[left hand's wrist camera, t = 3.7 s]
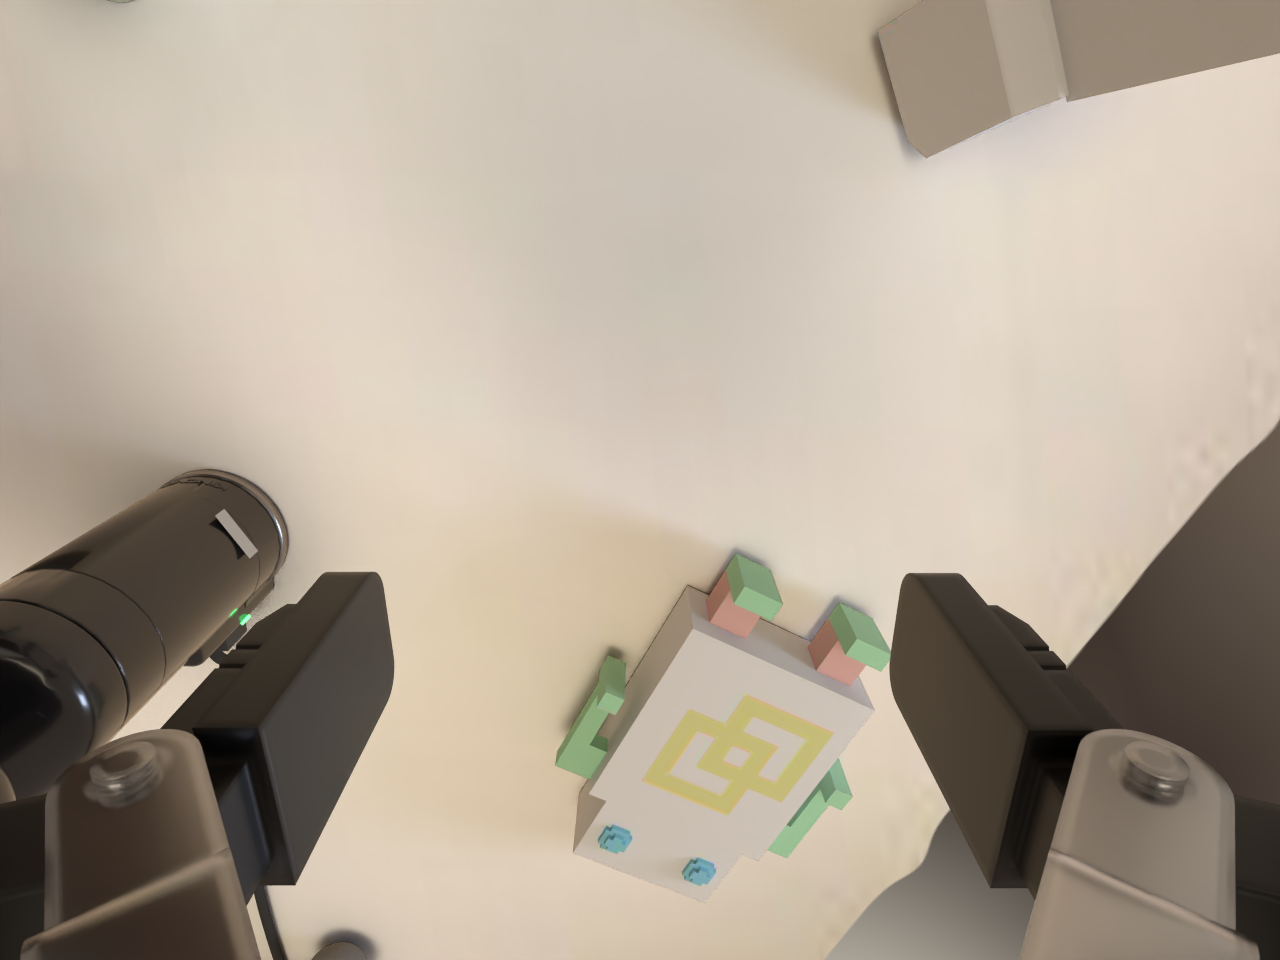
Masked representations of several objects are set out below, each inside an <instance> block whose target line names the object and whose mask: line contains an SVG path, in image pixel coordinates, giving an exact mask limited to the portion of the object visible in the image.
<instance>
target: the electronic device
mask: <svg viewBox="0 0 1280 960" xmlns="http://www.w3.org/2000/svg"><path fill="white" fill-rule="evenodd" d="M877 33H878V36H879V40H880V44H881V47H882V51H883V54H884V58H885V61H886V65H887V69H888V72H889V76H890V79H891V83H892V86H893V90H894V94H895V97H896V101H897V104H898V108H899V111H900V115H901V119H902V122H903V126H904V129H905V133H906V136H907V140H908V143H909V144H910V145H912V146H913V147H914V148H915V149H916V150H917V151H919V152H920V153H921V154H922V155H923V156H925V157H926V158H928V157H930V156H933V155H935V154H937V153H939V152H942V151H944V150H946V149H948V148H951V147H953V146H955V145H957V144H960V143H962V142H964V141H966V140H969V139H971V138H973V137H975V136H978V135H980V134H982V133H984V132H987V131H989V130H991V129H994V128H996V127H998V126H1000V125H1003V124H1005V123H1007V122H1009V121H1012V120H1014V119H1016V118H1018V117H1021V116H1023V115H1025V114H1027V113H1030V112H1032V111H1034V110H1037V109H1039V108H1041V107H1043V106H1046V105H1048V104H1050V103H1052V102H1055V101H1057V100H1059V99H1061V98H1063V97H1065V96H1066V99H1067V102H1069V101H1074V100H1078V99H1082V98H1087V97H1091V96H1095V95H1100V94H1104V93H1109V92H1113V91H1117V90H1122V89H1126V88H1130V87H1135V86H1139V85H1143V84H1148V83H1152V82H1156V81H1161V80H1165V79H1169V78H1174V77H1178V76H1182V75H1187V74H1191V73H1196V72H1200V71H1204V70H1209V69H1213V68H1217V67H1222V66H1226V65H1230V64H1235V63H1239V62H1243V61H1248V60H1252V59H1256V58H1261V57H1265V56H1270V55H1274V54H1278V53H1280V0H923V1H921V2H920V3H918V4H917V5H915V6H914V7H912V8H911V9H909V10H908V11H906V12H905V13H903V14H902V15H900V16H899V17H897V18H896V19H894V20H893V21H891V22H890V23H888V24H887V25H885V26H884V27H882V28H881V29H879V30H877Z"/></svg>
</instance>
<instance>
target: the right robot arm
mask: <svg viewBox="0 0 1280 960" xmlns="http://www.w3.org/2000/svg"><path fill="white" fill-rule="evenodd" d="M287 547H288V538H287V531H286V527H285V524H284V521H283V519H282V517H281V515H280V513H279V511H278V510H277V508H276V507H275V505H274V504H273V503H272V501H271V500H270V499H269V498H268V497H267V496H266V495H265V494H264V493H263V492H262V491H261V490H259V489H258V488H257V487H255V486H254V485H252V484H251V483H249V482H248V481H246V480H244V479H242V478H240V477H237V476H235V475H232V474H229V473H225V472H221V471H214V470H199V471H192V472H188V473H185V474H182V475H180V476H178V477H176V478H174V479H173V480H171V481H169V482H167V483H166V484H164V485H163V486H162V487H160V488H159V489H158V490H157V491H156V492H154V493H152V494H151V495H149V496H147V497H146V498H144V499H142V500H140V501H138V502H137V503H135V504H133V505H132V506H130V507H128V508H127V509H125V510H123V511H122V512H120V513H118V514H117V515H115V516H113V517H112V518H110V519H108V520H107V521H105V522H103V523H102V524H100V525H98V526H97V527H95V528H93V529H92V530H90V531H88V532H87V533H85V534H83V535H82V536H80V537H78V538H77V539H75V540H73V541H72V542H70V543H68V544H67V545H65V546H63V547H62V548H60V549H58V550H57V551H55V552H53V553H52V554H50V555H48V556H47V557H45V558H43V559H42V560H40V561H38V562H37V563H35V564H33V565H32V566H30V567H28V568H27V569H25V570H23V571H22V572H20V573H18V574H17V575H15V576H13V577H12V578H10V579H9V580H7V581H5V582H4V583H2V584H0V804H2V803H6V802H11V801H16V800H20V799H25V798H29V797H34V796H39V795H43V794H48V792H49V790H50V788H51V786H52V785H53V783H54V782H55V781H56V779H57V778H58V777H59V776H60V775H61V774H62V773H63V772H64V771H65V770H66V769H67V768H69V767H70V766H71V765H72V764H73V763H75V762H76V761H77V760H79V759H80V758H82V757H83V756H85V755H86V754H88V753H90V752H92V751H93V750H95V749H97V748H99V747H101V746H103V745H105V744H107V743H109V742H110V741H111V740H112V739H113V737H114V736H115V735H116V734H117V733H118V732H119V731H120V730H121V729H122V728H123V727H124V726H125V725H126V724H127V723H128V722H129V721H130V720H131V719H132V718H133V717H134V716H135V715H136V714H137V713H138V712H139V711H140V710H141V709H142V708H143V707H144V706H145V705H146V704H147V703H148V701H149V700H150V699H151V698H152V697H153V696H154V695H155V694H156V693H157V692H158V691H159V690H160V689H161V688H162V687H163V686H164V685H165V684H166V683H167V682H168V681H169V680H170V679H171V678H172V677H173V676H174V675H175V674H176V673H177V672H178V671H179V670H180V669H181V668H182V667H183V666H198V665H200V664H202V663H204V662H205V661H206V660H207V658H208V657H210V658H211V659H212V660H213V661H214V662H216V663H217V664H220V662H221V661H222V660H223V659H224V658H225V657H226V656H227V654H225V653H224V652H223V651H229V649H230V648H231V647H232V646H233V645H234V644H235V643H236V642H237V641H238V640H239V638H240V637H241V636H242V635H243V634H244V633H245V632H246V631H247V628H246V623H245V622H246V621H247V620H248V619H249V618H250V617H251V616H250V615H249V614H250V613H251V612H252V611H253V610H254V609H255V608H256V607H257V605H258V604H259V603H260V602H261V601H262V600H263V599H264V598H265V597H266V596H267V595H268V594H269V593H270V592H271V591H272V590H273V589H274V585H273V576H274V575H275V574H276V573H277V572H278V571H279V569H280V568H281V566H282V564H283V562H284V560H285V557H286V553H287ZM254 895H255V899H256V903H257V907H258V911H259V914H260V918H261V922H262V925H263V928H264V932H265V935H266V938H267V942H268V945H269V948H270V951H271V954H272V957H273V960H285V959H284V957H283V954H282V951H281V948H280V945H279V941H278V938H277V935H276V932H275V928H274V925H273V921H272V918H271V914H270V911H269V907H268V903H267V899H266V895H265V890H264V886H263V885H258V886H257V888H256V890H255V892H254Z"/></svg>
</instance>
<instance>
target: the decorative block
mask: <svg viewBox="0 0 1280 960" xmlns="http://www.w3.org/2000/svg"><path fill="white" fill-rule="evenodd" d="M782 605H783V603H782V600H781V597H780V594H779V592H778V589H777V586H776V583H775V580H774V577H773V575H772V572H771V570H770V569H767V568H765V567H763V566H761V565H759V564H757V563H755V562H753V561H751V560H749V559H746V558H744V557H742V556H740V555H738V554H735V556H734V557H733V559H732V560H731V562H730V564H729V565H728V567H727V568H726V570H725V572H724V573H723V575H722V576H721V578H720V580H719V581H718V583H717V584H716V586H715V588H714V589H713V591H712V592H711V594H710V595H707V594H705V593H703V592H701V591H698V590H696V589H694V588H692V587H690V586H687V588H686V589H685V591H684V592H683V594H682V596H681V597H680V599H679V601H678V602H677V604H676V605H675V607H674V609H673V610H672V612H671V614H670V615H669V617H668V619H667V620H666V622H665V623H664V625H663V627H662V628H661V630H660V632H659V633H658V635H657V636H656V638H655V640H654V641H653V643H652V645H651V646H650V648H649V650H648V651H647V653H646V654H645V656H644V658H643V659H642V661H641V663H640V664H639V666H638V668H637V669H636V671H635V672H634V674H633V676H632V677H631V679H630V681H629V682H628V684H627V685H626V687H625V667H626V663H625V662H622V661H620V660H618V659H615V658H613V657H611V656H609V655H608V657H607V659H606V660H605V662H604V664H603V665H602V667H601V669H600V673H599V682H598V684H597V686H596V687H595V689H594V691H593V692H592V694H591V696H590V697H589V699H588V701H587V702H586V704H585V706H584V707H583V709H582V711H581V713H580V714H579V716H578V718H577V719H576V721H575V723H574V724H573V726H572V728H571V729H570V731H569V733H568V734H567V736H566V738H565V739H564V741H563V743H562V744H561V746H560V748H559V750H558V751H557V756H556V763H555V766H558V767H560V768H563V769H565V770H568V771H570V772H573V773H575V774H578V775H580V776H583V777H585V778H588V781H587V783H586V784H585V786H584V787H583V789H582V791H581V792H580V794H579V797H578V807H577V817H576V827H575V836H574V846H573V853H574V854H576V855H579V856H582V857H584V858H587V859H590V860H592V861H595V862H598V863H600V864H603V865H605V866H608V867H611V868H613V869H616V870H619V871H621V872H624V873H627V874H629V875H632V876H634V877H637V878H640V879H642V880H645V881H648V882H650V883H653V884H656V885H658V886H661V887H663V888H666V889H669V890H671V891H674V892H677V893H679V894H682V895H685V896H687V897H690V898H693V899H695V900H698V901H700V902H703V903H706V902H707V900H708V899H709V898H710V896H711V895H712V894H713V892H714V891H715V890H716V888H717V887H718V886H719V884H720V883H721V882H722V880H723V879H724V878H725V877H726V875H727V874H728V873H729V871H730V870H731V869H732V867H733V866H734V865H735V863H736V862H737V861H738V859H739V858H740V857H741V855H744V856H747V857H749V858H752V859H754V860H757V861H759V860H760V858H761V857H762V856H763V854H764V853H765V852H766V851H767V850H768V851H771V852H773V853H776V854H778V855H781V856H783V857H786V858H787V857H788V856H789V855H790V854H791V852H792V851H793V850H794V849H795V847H796V846H797V845H798V844H799V842H800V841H801V840H802V838H803V837H804V836H805V835H806V833H807V832H808V831H809V830H810V828H811V827H812V826H813V825H814V823H815V822H816V821H817V819H818V818H819V817H820V816H821V814H822V813H823V812H824V811H825V809H826V808H827V807H828V806H829V805H831V806H833V807H836V808H838V809H840V810H842V809H843V808H844V807H845V805H846V804H847V803H848V802H849V800H850V799H851V798H852V794H851V791H850V788H849V786H848V783H847V780H846V777H845V774H844V772H843V769H842V766H841V763H840V760H839V756H840V755H841V754H842V752H843V751H844V750H845V748H846V747H847V746H848V744H849V743H850V742H851V741H852V739H853V738H854V737H855V735H856V734H857V733H858V732H859V730H860V729H861V728H862V726H863V725H864V724H865V722H866V721H867V720H868V719H869V717H870V716H871V715H872V713H873V712H874V711H875V710H874V707H873V705H872V703H871V701H870V699H869V697H868V694H867V692H866V690H865V688H864V686H863V684H862V681H861V679H860V677H859V674H860V673H861V671H862V670H863V669H864V667H865V666H866V665H868V666H870V667H872V668H874V669H876V670H879V671H882V670H883V668H884V667H885V666H886V664H887V663H888V662H889V660H890V656H891V651H890V649H889V647H888V646H887V644H886V642H885V640H884V638H883V637H882V635H881V633H880V631H879V629H878V628H877V626H876V624H875V622H874V620H873V619H872V618H871V617H869V616H867V615H865V614H862V613H860V612H858V611H856V610H854V609H852V608H850V607H848V606H846V605H843V604H841V603H838V605H837V606H836V608H835V609H834V610H833V612H832V613H831V615H830V616H829V617H828V619H827V620H826V622H825V623H824V625H823V626H822V627H821V629H820V630H819V632H818V633H817V634H816V636H815V637H814V639H813V640H812V642H809V641H807V640H805V639H803V638H801V637H798V636H796V635H794V634H792V633H790V632H788V631H785V630H783V629H781V628H779V627H777V626H775V625H772V624H770V623H768V622H766V621H764V620H762V619H759V618H760V617H764V618H766V619H768V620H770V621H772V620H773V618H774V617H775V615H776V614H777V612H778V611H779V609H780V608H781V606H782ZM608 714H609V715H608ZM606 717H607V718H606ZM605 719H606V720H605ZM604 720H605V721H604ZM603 722H604V723H603ZM602 724H603V725H602ZM601 725H602V726H601ZM600 727H601V728H600ZM599 729H600V730H599ZM598 730H599V731H598ZM597 732H598V733H597ZM596 733H597V734H596Z"/></svg>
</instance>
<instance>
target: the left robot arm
mask: <svg viewBox="0 0 1280 960" xmlns="http://www.w3.org/2000/svg"><path fill="white" fill-rule="evenodd" d="M393 678H394V656H393V649H392V642H391V635H390V628H389V622H388V615H387V608H386V601H385V594H384V588H383V583H382V580H381V578H380V576H379V574H378V573H376V572H325V573H323V574H322V575H321V576H320V577H319V578H318V580H317V581H316V582H315V583H314V584H313V586H312V587H311V588H310V589H309V590H308V591H307V593H306V594H305V595H304V596H303V597H302V598H301V600H300V601H299V602H298V603H297V604H287V605H285V606H283V607H282V608H280V609H278V610H277V611H275V612H274V613H272V614H270V615H269V616H267V617H265V618H264V619H262V620H260V621H259V622H257V623H256V624H255V625H254V626H253V627H252V628H251V629H250V630H249V632H248V633H247V634H246V635H245V636H244V637H243V638H242V639H241V640H240V641H239V643H238V644H237V645H236V650H231V651H230V653H229V654H228V655H227V656H226V657H225V658H224V659H223V660H222V661H221V662H220V664H219V668H215V669H214V670H213V671H212V672H211V673H210V675H209V676H208V677H207V678H206V679H205V680H204V681H203V682H202V683H201V684H200V686H199V687H198V688H197V689H196V690H195V691H194V692H193V693H192V694H191V695H190V697H189V698H188V699H187V700H186V701H185V702H184V703H183V704H182V705H181V707H180V708H179V709H178V710H177V711H176V712H175V713H174V714H173V715H172V716H171V718H170V719H169V720H168V721H167V722H166V723H165V724H164V725H163V726H162V727H161V729H157V730H149V731H144V732H139V733H135V734H132V735H128V736H125V737H122V738H119V739H117V740H114V741H112V742H109V743H107V744H105V745H103V746H101V747H99V748H97V749H95V750H93V751H92V752H90V753H88V754H86V755H85V756H83V757H82V758H80V759H79V760H77V761H76V762H75V763H73V764H72V765H71V766H70V767H69V768H67V769H66V770H65V771H64V772H63V773H62V774H61V775H60V776H59V777H58V778H57V779H56V781H55V782H54V783H53V785H52V786H51V788H50V790H49V792H48V794H43V795H39V796H34V797H29V798H25V799H20V800H16V801H11V802H6V803H2V804H0V960H261V957H260V954H259V950H258V947H257V943H256V939H255V936H254V932H253V929H252V925H251V921H250V918H249V914H248V911H247V907H246V906H247V904H248V902H249V901H250V899H251V897H252V895H253V893H254V892H255V890H256V888H257V886H258V885H296V883H297V881H298V879H299V877H300V875H301V873H302V871H303V869H304V867H305V865H306V863H307V861H308V859H309V857H310V855H311V853H312V851H313V849H314V847H315V845H316V843H317V841H318V839H319V837H320V835H321V833H322V831H323V829H324V827H325V825H326V823H327V821H328V819H329V817H330V815H331V813H332V811H333V809H334V807H335V805H336V803H337V801H338V799H339V797H340V795H341V793H342V791H343V789H344V787H345V785H346V783H347V781H348V779H349V777H350V775H351V773H352V771H353V769H354V767H355V765H356V763H357V761H358V759H359V757H360V755H361V753H362V751H363V749H364V747H365V745H366V743H367V741H368V739H369V737H370V736H371V734H372V732H373V730H374V728H375V726H376V724H377V722H378V720H379V718H380V716H381V714H382V712H383V710H384V708H385V706H386V704H387V702H388V699H389V697H390V694H391V690H392V685H393ZM890 682H891V688H892V692H893V696H894V699H895V701H896V703H897V705H898V707H899V709H900V711H901V713H902V715H903V717H904V719H905V721H906V723H907V725H908V727H909V729H910V731H911V733H912V735H913V737H914V739H915V741H916V743H917V745H918V747H919V749H920V751H921V753H922V755H923V756H924V758H925V760H926V762H927V764H928V766H929V768H930V770H931V772H932V774H933V776H934V778H935V780H936V782H937V784H938V786H939V788H940V790H941V792H942V794H943V796H944V798H945V800H946V802H947V804H948V806H949V808H950V809H951V811H952V813H953V815H954V817H955V819H956V821H957V823H958V825H959V827H960V829H961V831H962V833H963V835H964V837H965V839H966V841H967V843H968V845H969V847H970V849H971V851H972V853H973V855H974V857H975V859H976V861H977V862H978V864H979V866H980V868H981V870H982V872H983V874H984V876H985V878H986V880H987V882H988V884H989V886H990V888H1028V889H1029V891H1030V892H1031V894H1032V896H1033V898H1034V900H1035V903H1034V907H1033V911H1032V914H1031V918H1030V921H1029V925H1028V929H1027V932H1026V936H1025V939H1024V943H1023V946H1022V950H1021V954H1020V957H1019V960H1280V805H1278V804H1273V803H1268V802H1263V801H1259V800H1255V799H1250V798H1245V797H1241V796H1237V795H1233V794H1232V792H1231V790H1230V788H1229V786H1228V785H1227V783H1226V782H1225V781H1224V779H1223V778H1222V777H1221V776H1220V775H1219V774H1218V773H1217V772H1216V771H1215V770H1214V769H1213V768H1211V767H1210V766H1209V765H1208V764H1207V763H1205V762H1204V761H1202V760H1201V759H1200V758H1198V757H1197V756H1195V755H1194V754H1192V753H1190V752H1188V751H1187V750H1185V749H1183V748H1181V747H1179V746H1177V745H1175V744H1173V743H1171V742H1168V741H1166V740H1163V739H1160V738H1158V737H1155V736H1152V735H1148V734H1145V733H1141V732H1136V731H1131V730H1125V729H1124V728H1123V727H1122V726H1121V725H1120V724H1119V723H1118V722H1117V721H1116V719H1115V718H1114V717H1113V716H1112V715H1111V714H1110V713H1109V712H1108V711H1107V710H1106V709H1105V707H1104V706H1103V705H1102V704H1101V703H1100V702H1099V701H1098V700H1097V699H1096V698H1095V697H1094V695H1093V694H1092V693H1091V692H1090V691H1089V690H1088V689H1087V688H1086V687H1085V686H1084V684H1083V683H1082V682H1081V681H1080V680H1079V679H1078V678H1077V677H1076V676H1075V675H1074V674H1073V673H1072V671H1070V670H1066V665H1065V664H1064V663H1063V662H1062V660H1061V659H1060V658H1059V657H1058V656H1057V655H1056V654H1055V653H1054V652H1053V651H1049V646H1048V645H1047V644H1046V643H1045V642H1044V641H1043V640H1042V639H1041V638H1040V636H1039V635H1038V634H1037V633H1036V632H1035V631H1034V630H1033V629H1032V628H1031V627H1030V626H1029V624H1027V623H1025V622H1024V621H1022V620H1020V619H1019V618H1017V617H1015V616H1014V615H1012V614H1011V613H1009V612H1007V611H1006V610H1004V609H1002V608H1001V607H999V606H997V605H987V604H986V603H985V601H984V600H983V599H982V598H981V597H980V596H979V594H978V593H977V592H976V591H975V590H974V589H973V587H972V586H971V585H970V584H969V583H968V582H967V580H966V579H965V578H964V577H963V576H962V575H961V574H959V573H909V574H907V575H906V576H905V577H904V579H903V581H902V584H901V588H900V595H899V601H898V608H897V615H896V622H895V629H894V635H893V642H892V649H891V656H890Z"/></svg>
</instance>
